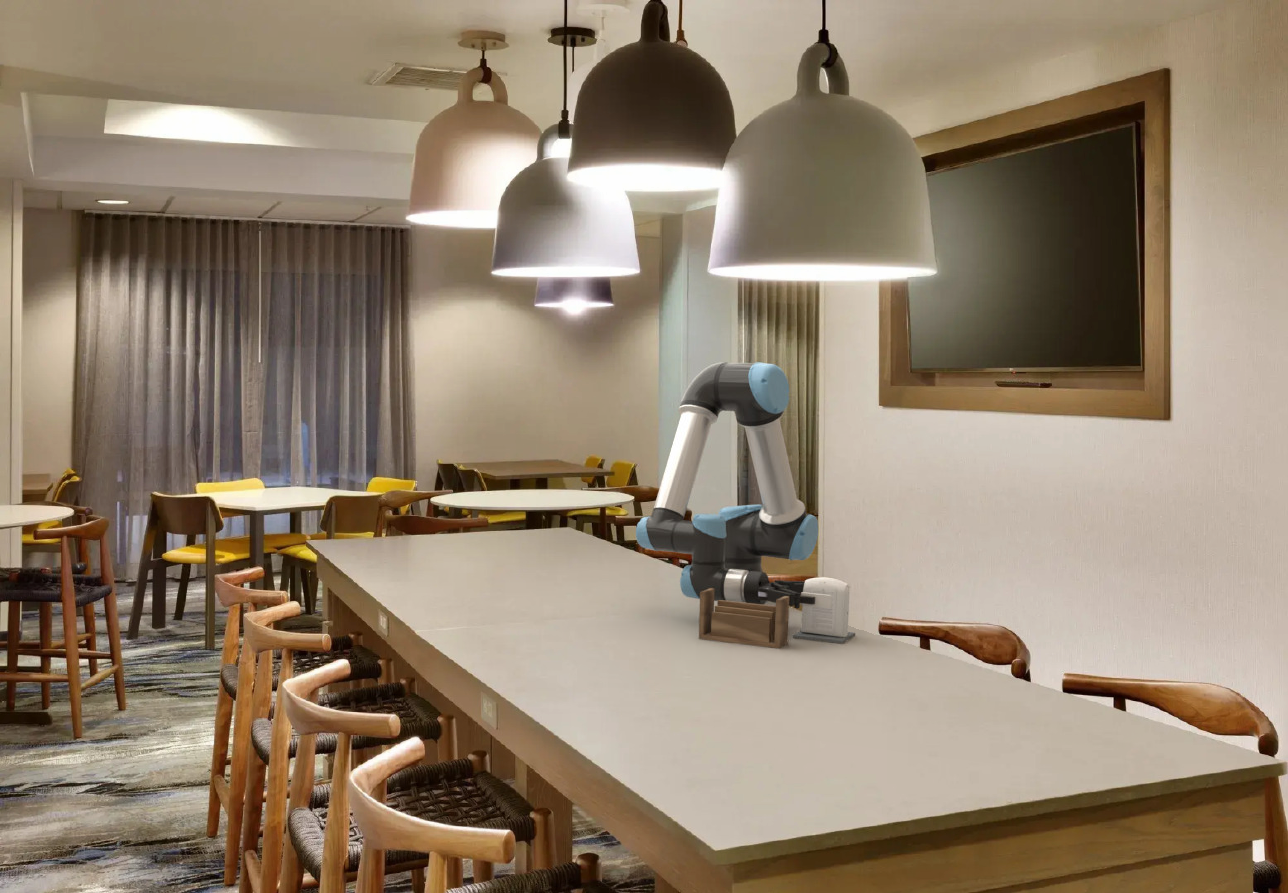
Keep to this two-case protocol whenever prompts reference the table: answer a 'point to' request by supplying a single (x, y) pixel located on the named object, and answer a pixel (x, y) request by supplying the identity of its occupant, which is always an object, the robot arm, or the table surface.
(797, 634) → the pad
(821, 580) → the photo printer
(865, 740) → the table surface
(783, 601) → the offcut rack
